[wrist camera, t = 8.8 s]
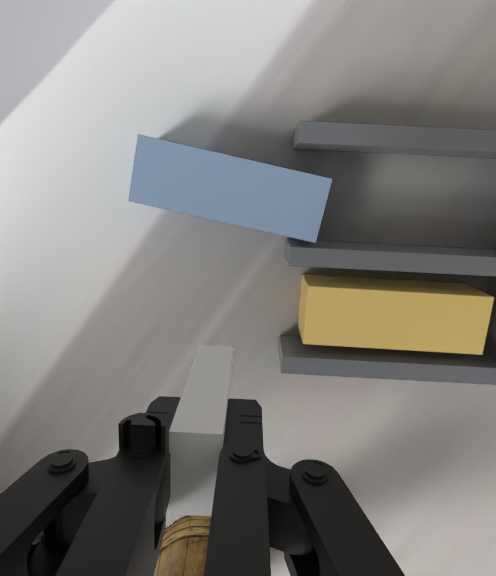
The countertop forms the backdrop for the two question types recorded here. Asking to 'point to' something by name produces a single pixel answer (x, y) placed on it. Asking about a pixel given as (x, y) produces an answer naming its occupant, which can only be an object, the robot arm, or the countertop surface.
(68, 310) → the countertop surface
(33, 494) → the robot arm
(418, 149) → the comb rack
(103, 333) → the countertop surface
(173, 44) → the countertop surface
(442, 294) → the bar ochre
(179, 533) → the wooden mug
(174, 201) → the bar blue
